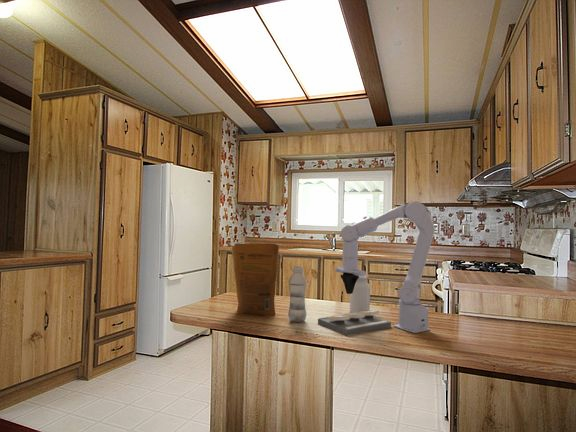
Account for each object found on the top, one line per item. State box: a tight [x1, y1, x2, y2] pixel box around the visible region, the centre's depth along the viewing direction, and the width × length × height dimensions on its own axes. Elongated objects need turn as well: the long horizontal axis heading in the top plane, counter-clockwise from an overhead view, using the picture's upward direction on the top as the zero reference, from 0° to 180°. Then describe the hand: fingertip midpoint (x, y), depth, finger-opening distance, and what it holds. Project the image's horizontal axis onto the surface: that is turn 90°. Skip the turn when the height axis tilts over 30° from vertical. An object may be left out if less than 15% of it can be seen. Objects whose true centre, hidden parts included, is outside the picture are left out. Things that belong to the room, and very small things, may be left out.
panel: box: [317, 312, 392, 336], centre depth 132 cm, size 16×20×3 cm
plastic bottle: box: [287, 266, 307, 323], centre depth 136 cm, size 6×7×20 cm
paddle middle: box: [343, 312, 365, 318], centre depth 132 cm, size 7×4×1 cm, turn 32°
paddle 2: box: [358, 310, 380, 316], centre depth 136 cm, size 7×4×1 cm, turn 32°
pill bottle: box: [349, 275, 371, 313], centre depth 151 cm, size 8×8×15 cm
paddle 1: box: [328, 314, 350, 320], centre depth 128 cm, size 7×4×1 cm, turn 32°
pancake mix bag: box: [231, 242, 280, 316], centre depth 147 cm, size 7×19×28 cm, turn 73°
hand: (349, 293), depth 140 cm, fingers closed
